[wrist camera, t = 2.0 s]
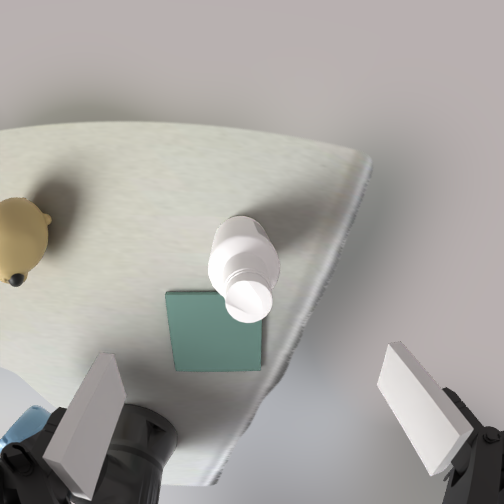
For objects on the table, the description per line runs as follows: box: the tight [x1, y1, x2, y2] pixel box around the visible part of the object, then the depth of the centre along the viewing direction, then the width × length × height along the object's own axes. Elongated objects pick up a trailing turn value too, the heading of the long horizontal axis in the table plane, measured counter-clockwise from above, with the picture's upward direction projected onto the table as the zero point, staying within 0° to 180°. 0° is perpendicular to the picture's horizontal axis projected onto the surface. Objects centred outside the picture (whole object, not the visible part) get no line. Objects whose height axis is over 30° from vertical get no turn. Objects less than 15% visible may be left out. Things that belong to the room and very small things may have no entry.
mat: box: [165, 292, 262, 372], centre depth 41 cm, size 13×13×1 cm
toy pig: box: [0, 198, 52, 287], centre depth 31 cm, size 10×12×11 cm
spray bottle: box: [208, 216, 280, 323], centre depth 30 cm, size 7×7×18 cm
